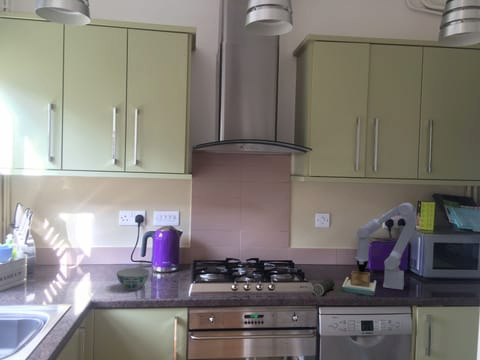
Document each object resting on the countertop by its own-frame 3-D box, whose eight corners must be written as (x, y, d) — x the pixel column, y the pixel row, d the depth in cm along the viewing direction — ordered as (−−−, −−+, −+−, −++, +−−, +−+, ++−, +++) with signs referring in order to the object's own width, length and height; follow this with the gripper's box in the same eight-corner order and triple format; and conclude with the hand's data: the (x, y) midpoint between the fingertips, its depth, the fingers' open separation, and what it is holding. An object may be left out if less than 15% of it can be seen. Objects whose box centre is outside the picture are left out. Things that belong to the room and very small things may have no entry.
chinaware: (139, 294, 175) (140, 277, 175) (110, 291, 179) (110, 274, 179) (154, 285, 190) (154, 269, 190) (126, 282, 193) (127, 266, 193)
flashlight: (325, 287, 196) (325, 276, 196) (335, 289, 193) (335, 278, 193) (312, 294, 184) (312, 283, 183) (323, 296, 180) (323, 285, 180)
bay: (376, 284, 203) (376, 280, 203) (373, 295, 184) (374, 291, 184) (346, 280, 208) (346, 276, 208) (341, 291, 190) (341, 286, 190)
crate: (369, 283, 202) (370, 272, 201) (368, 286, 195) (369, 276, 195) (351, 280, 205) (352, 270, 205) (350, 284, 198) (350, 273, 198)
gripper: (356, 246, 216) (355, 270, 216) (353, 251, 203) (352, 277, 203) (369, 247, 213) (368, 272, 214) (367, 252, 200) (366, 278, 200)
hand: (361, 274), depth 208 cm, fingers closed
